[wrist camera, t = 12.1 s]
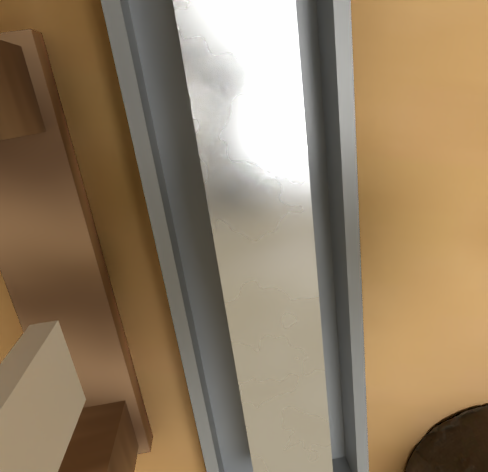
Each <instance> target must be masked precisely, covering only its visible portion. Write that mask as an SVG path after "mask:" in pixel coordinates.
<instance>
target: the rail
mask: <svg viewBox="0 0 488 472" xmlns="http://www.w3.org/2000/svg"><path fill="white" fill-rule="evenodd" d="M173 5H174V11H175V17H176V23H177V29H178V34H179V40H180V46H181V52H182V58H183V64H184V70H185V75H186V81H187V87H188V93H189V99H190V105H191V110H192V116H193V122H194V128H195V134H196V140H197V145H198V151H199V157H200V163H201V169H202V175H203V180H204V186H205V192H206V198H207V204H208V210H209V215H210V221H211V227H212V233H213V239H214V245H215V250H216V256H217V262H218V268H219V274H220V280H221V285H222V291H223V297H224V303H225V309H226V315H227V320H228V326H229V332H230V338H231V344H232V350H233V355H234V361H235V367H236V373H237V379H238V385H239V390H240V396H241V402H242V408H243V414H244V420H245V426H246V431H247V437H248V443H249V449H250V455H251V461H252V466H253V472H333V465H332V453H331V440H330V428H329V415H328V403H327V390H326V378H325V365H324V353H323V340H322V328H321V315H320V303H319V290H318V278H317V265H316V253H315V240H314V228H313V215H312V203H311V190H310V178H309V165H308V153H307V140H306V128H305V115H304V103H303V90H302V78H301V65H300V53H299V40H298V28H297V15H296V3H295V0H173Z"/></svg>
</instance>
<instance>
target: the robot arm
mask: <svg viewBox="0 0 488 472" xmlns="http://www.w3.org/2000/svg"><path fill="white" fill-rule="evenodd" d="M85 401H86V398H85V395H84V392H83V390H82V387H81V384H80V381H79V378H78V375H77V372H76V370H75V367H74V364H73V361H72V358H71V355H70V353H69V350H68V347H67V344H66V341H65V338H64V336H63V333H62V330H61V327H60V324H59V321H58V320H57V321H51V322H45V323H38V324H32V325H29V326H28V328H27V329H26V330H25V332H24V333H23V334H22V336H21V337H20V338H19V340H18V341H17V342H16V344H15V345H14V346H13V348H12V349H11V350H10V352H9V353H8V354H7V356H6V357H5V358H4V360H3V361H2V362H1V364H0V472H58V470H59V468H60V465H61V463H62V460H63V457H64V455H65V452H66V450H67V447H68V445H69V442H70V440H71V437H72V434H73V432H74V429H75V427H76V424H77V422H78V419H79V416H80V414H81V411H82V409H83V406H84V404H85Z"/></svg>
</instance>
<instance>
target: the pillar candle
mask: <svg viewBox="0 0 488 472" xmlns="http://www.w3.org/2000/svg"><path fill="white" fill-rule="evenodd" d="M405 472H488V405H486V406H484V407H482V406H481V407H478V408H475V409H471V410H468V411H465V412H462V413H461V414H460V415H458V416H454V418H452V419H450V420H447V421H445V422H443V423H441V424H440V425H438V426H436V427H435V428H433V429H432V430H431V431H430V432H429V433H428V434H426V435H425V437H424V438H423V439H422V440H421V442H420V443H419V444H418V446H417V447H416V448H415V450H414V452H413V453H412V456H411V458H410V459H409V461H408V464H407V467H406V470H405Z"/></svg>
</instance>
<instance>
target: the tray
mask: <svg viewBox="0 0 488 472" xmlns="http://www.w3.org/2000/svg"><path fill="white" fill-rule="evenodd" d="M295 3H296V15H297V28H298V40H299V53H300V65H301V78H302V90H303V103H304V115H305V128H306V140H307V153H308V165H309V178H310V190H311V203H312V215H313V228H314V240H315V253H316V265H317V278H318V290H319V303H320V315H321V328H322V340H323V353H324V365H325V378H326V390H327V403H328V415H329V428H330V440H331V453H332V465H333V472H369V461H368V435H367V409H366V383H365V358H364V332H363V306H362V281H361V255H360V229H359V203H358V178H357V152H356V126H355V101H354V75H353V49H352V23H351V0H295ZM101 4H102V9H103V13H104V18H105V22H106V26H107V31H108V35H109V40H110V44H111V49H112V53H113V58H114V62H115V66H116V71H117V75H118V80H119V84H120V89H121V93H122V98H123V102H124V106H125V111H126V115H127V120H128V124H129V129H130V133H131V138H132V142H133V146H134V151H135V155H136V160H137V164H138V169H139V173H140V178H141V182H142V186H143V191H144V195H145V200H146V204H147V209H148V213H149V218H150V222H151V226H152V231H153V235H154V240H155V244H156V249H157V253H158V258H159V262H160V266H161V271H162V275H163V280H164V284H165V289H166V293H167V298H168V302H169V306H170V311H171V315H172V320H173V324H174V329H175V333H176V338H177V342H178V346H179V351H180V355H181V360H182V364H183V369H184V373H185V378H186V382H187V386H188V391H189V395H190V400H191V404H192V409H193V413H194V418H195V422H196V426H197V431H198V435H199V440H200V444H201V449H202V453H203V458H204V462H205V467H206V471H207V472H253V466H252V461H251V455H250V449H249V443H248V437H247V431H246V426H245V420H244V414H243V408H242V402H241V396H240V390H239V385H238V379H237V373H236V367H235V361H234V355H233V350H232V344H231V338H230V332H229V326H228V320H227V315H226V309H225V303H224V297H223V291H222V285H221V280H220V274H219V268H218V262H217V256H216V250H215V245H214V239H213V233H212V227H211V221H210V215H209V210H208V204H207V198H206V192H205V186H204V180H203V175H202V169H201V163H200V157H199V151H198V145H197V140H196V134H195V128H194V122H193V116H192V110H191V105H190V99H189V93H188V87H187V81H186V75H185V70H184V64H183V58H182V52H181V46H180V40H179V34H178V29H177V23H176V17H175V11H174V5H173V0H101Z"/></svg>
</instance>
